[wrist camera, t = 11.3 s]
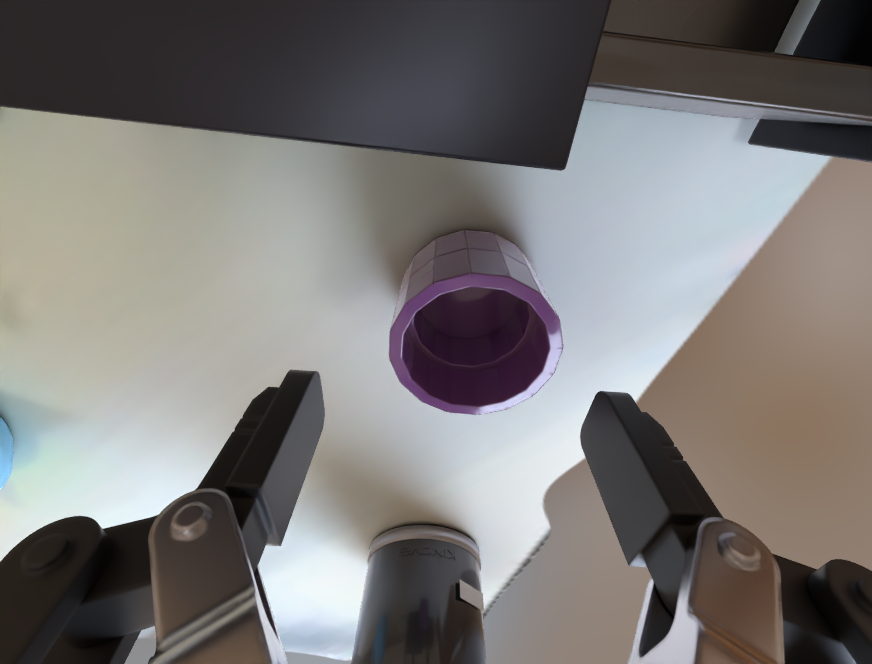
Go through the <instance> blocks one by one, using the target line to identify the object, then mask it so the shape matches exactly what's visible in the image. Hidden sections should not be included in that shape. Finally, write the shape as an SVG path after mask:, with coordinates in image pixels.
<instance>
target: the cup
mask: <svg viewBox="0 0 872 664" xmlns="http://www.w3.org/2000/svg"><path fill="white" fill-rule="evenodd" d="M562 350H563V340H562V332H561V325H560V319H559V317H558V315H557V313H556V311H555V309H554V307H553V305H552V303H551V301H550V299H549V297H548V295H547V294H546V292H545V290H544V288H543V286H542V284H541V282H540V280H539V278H538V276H537V274H536V272H535V270H534V269H533V267H532V265H531V264H530V262H529V261H528V260H527V258H526V257H525V255H524V254H523V253H522V251H521V250H520V248H518V246H517V245H515V244H513V243H511V242H509V241H508V240H506V239H504V238H502V237H501V236H499V235H497V234H495V233H494V234H493V233H490V232H481V231H472V230H465V231H464V230H462V231H459V232H455V233H452V234H448V235H445V236H441V237H438V238H436V239H434V240H433V241H432V242H431V243H429V244H428V245H427V246H426V247H424V248H423V249H422V250H420V251H419V252H418V253H417V254H416V255H415V256H414V257H413V259H412V261H411V263H410V265H409V267H408V269H407V271H406V272H405V274H404V276H403V280H402V284H401V288H400V292H399V296H398V300H397V304H396V308H395V312H394V316H393V320H392V324H391V328H390V338H389V360H390V362H391V364H392V366H393V368H394V370H395V373H396V375H397V377H398V379H399V381H400V383H401V384H402V385H403V386H404V387H405V388H407V389H408V390H409V391H410V392H411V393H412V394H413V395H414V396H416V397H417V398H418V399H419V400H420V401H422V402H423V403H426V404H428V405H431V406H433V407H436V408H438V409H441V410H443V411H446V412H450V413H461V414H472V415H477V414H478V415H480V414H485V413H490V412H496V411H501V410H506V409H509V408H511V407H512V406H514V405H516V404H518V403H520V402H522V401H524V400H526V399H528V398H530V397H532V396H533V395H534V394H536V392H537V391H538V390H539V389H540V388H541V387H542V386H543V385H544V384H545V383H546V382H547V381H548V380H549V379H550V378H551V376H552V375H553V374H554V372H555V369H556V366H557V364H558V361H559V358H560V355H561V353H562Z"/></svg>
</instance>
